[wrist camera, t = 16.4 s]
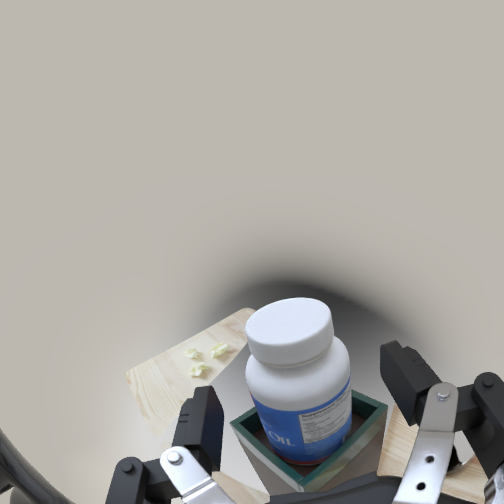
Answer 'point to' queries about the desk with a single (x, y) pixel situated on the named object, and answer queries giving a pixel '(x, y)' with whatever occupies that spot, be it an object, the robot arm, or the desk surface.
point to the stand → (356, 467)
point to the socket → (331, 466)
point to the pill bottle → (299, 380)
